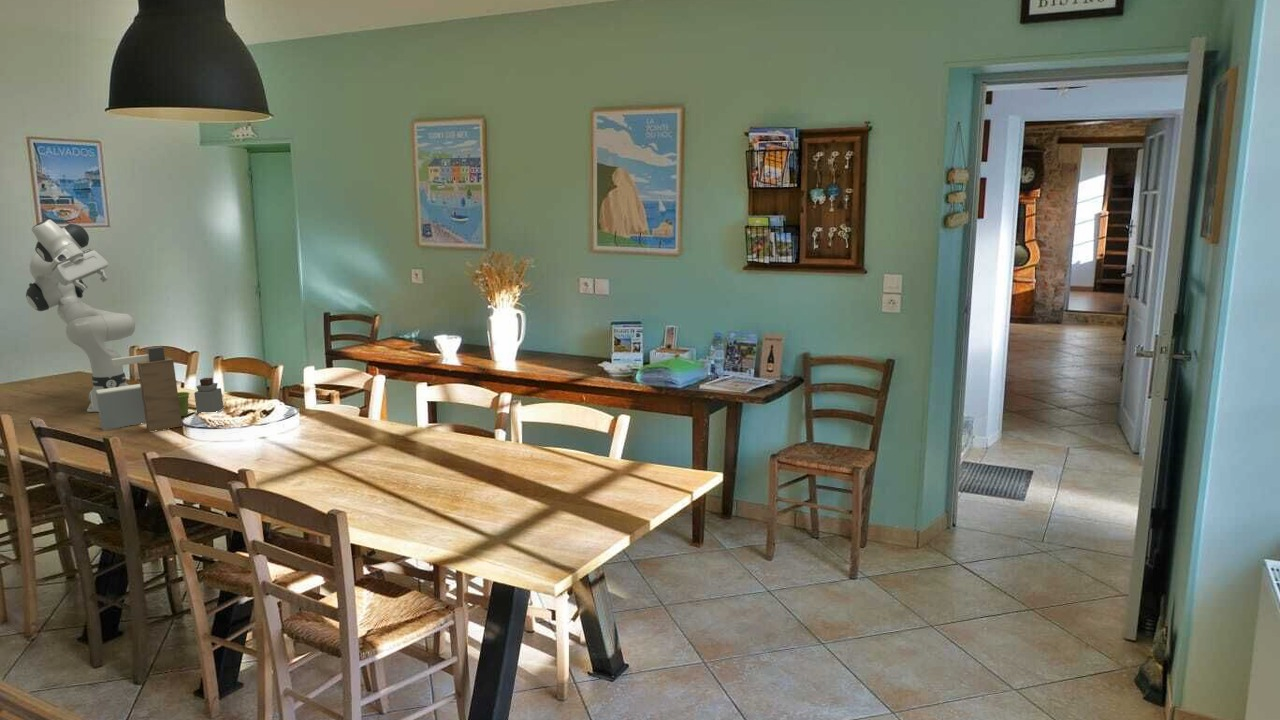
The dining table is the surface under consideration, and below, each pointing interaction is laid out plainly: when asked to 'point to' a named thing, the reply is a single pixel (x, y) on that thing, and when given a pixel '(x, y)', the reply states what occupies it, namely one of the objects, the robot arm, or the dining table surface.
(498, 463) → the dining table surface
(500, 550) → the dining table surface
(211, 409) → the perfume bottle
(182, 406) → the plant pot
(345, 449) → the dining table surface
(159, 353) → the mallet
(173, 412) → the walnut stand
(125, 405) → the notepad block
